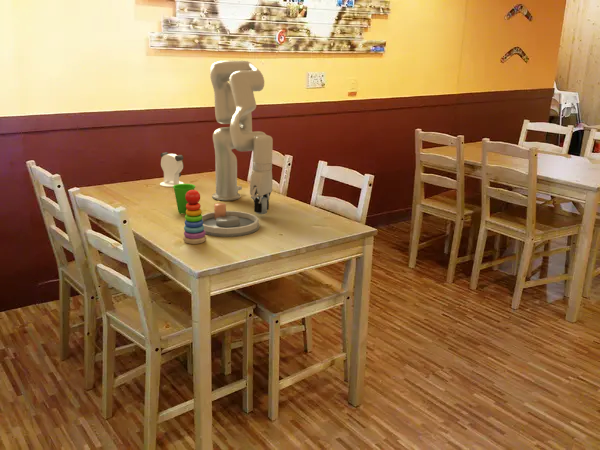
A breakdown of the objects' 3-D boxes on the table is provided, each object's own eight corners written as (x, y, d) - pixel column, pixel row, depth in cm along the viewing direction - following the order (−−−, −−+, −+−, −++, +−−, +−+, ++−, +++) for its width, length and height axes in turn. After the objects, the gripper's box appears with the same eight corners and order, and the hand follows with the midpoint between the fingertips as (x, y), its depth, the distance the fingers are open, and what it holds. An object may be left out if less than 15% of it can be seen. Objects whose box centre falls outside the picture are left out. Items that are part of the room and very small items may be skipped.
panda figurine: (189, 183, 287) (188, 153, 282) (173, 188, 278) (172, 157, 273) (171, 180, 293) (170, 150, 288) (155, 184, 283) (153, 154, 279)
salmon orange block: (219, 216, 232) (218, 202, 230) (228, 218, 230) (228, 203, 228) (212, 219, 228) (211, 204, 227) (221, 221, 226) (221, 206, 225)
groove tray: (221, 214, 239) (221, 207, 238) (271, 224, 228) (271, 217, 227) (183, 229, 219) (182, 221, 218) (235, 241, 208) (235, 233, 207)
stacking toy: (184, 237, 210) (182, 186, 204) (206, 237, 211) (205, 187, 205) (182, 244, 203) (180, 192, 197) (205, 244, 203) (204, 192, 198)
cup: (191, 216, 235) (190, 189, 232) (170, 214, 237) (169, 187, 234) (199, 210, 244) (198, 184, 240) (178, 208, 245) (178, 182, 242)
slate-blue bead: (259, 210, 240) (260, 196, 238) (269, 212, 238) (269, 197, 236) (253, 212, 236) (253, 198, 234) (263, 214, 234) (263, 200, 232)
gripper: (265, 161, 239) (264, 204, 245) (242, 169, 225) (241, 214, 231) (281, 164, 236) (280, 207, 242) (258, 172, 222) (257, 217, 228)
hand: (261, 210), depth 236 cm, fingers closed on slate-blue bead, 4 cm apart
